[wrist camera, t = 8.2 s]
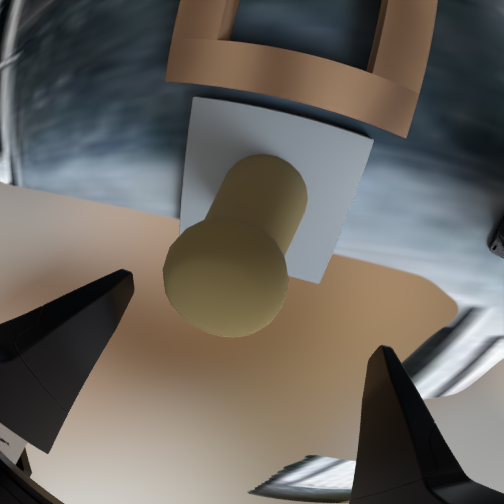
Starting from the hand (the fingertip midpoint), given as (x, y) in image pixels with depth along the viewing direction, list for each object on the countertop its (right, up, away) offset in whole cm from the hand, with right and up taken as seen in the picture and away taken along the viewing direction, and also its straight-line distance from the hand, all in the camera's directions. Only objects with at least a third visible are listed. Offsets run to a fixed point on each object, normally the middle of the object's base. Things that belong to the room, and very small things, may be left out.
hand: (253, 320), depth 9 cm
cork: (+1, +6, +10) cm, 12 cm away
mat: (+1, +7, +11) cm, 13 cm away
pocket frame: (+4, +18, +3) cm, 19 cm away
